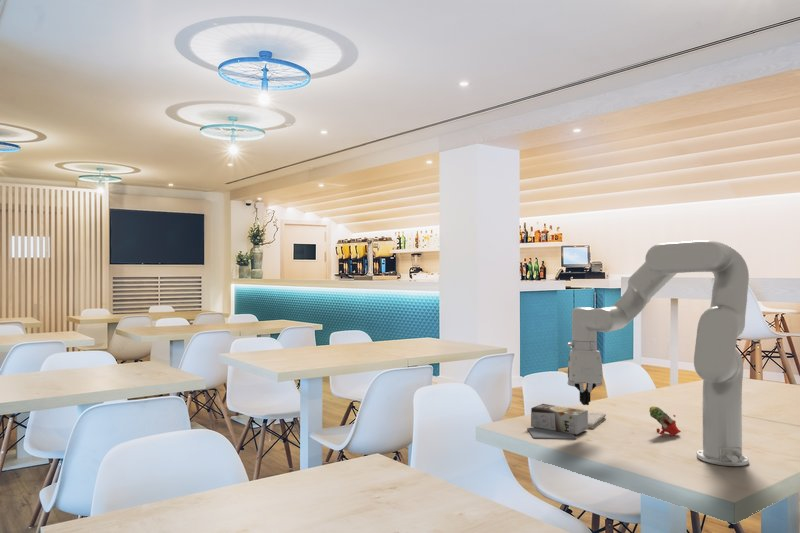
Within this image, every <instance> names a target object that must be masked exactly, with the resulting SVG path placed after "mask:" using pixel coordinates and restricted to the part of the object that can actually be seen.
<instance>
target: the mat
mask: <svg viewBox="0 0 800 533" xmlns="http://www.w3.org/2000/svg"><path fill="white" fill-rule="evenodd" d="M527 431H528V432H529V433H530V435H531V437H532V438H533V439H539V440H540V439H541V440H543V439H544V440H548V439H549V440H577V437H576V436H575V434H571V433H565V432H560V431H554V430H548V429H542V428H537V427H527Z"/></svg>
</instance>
